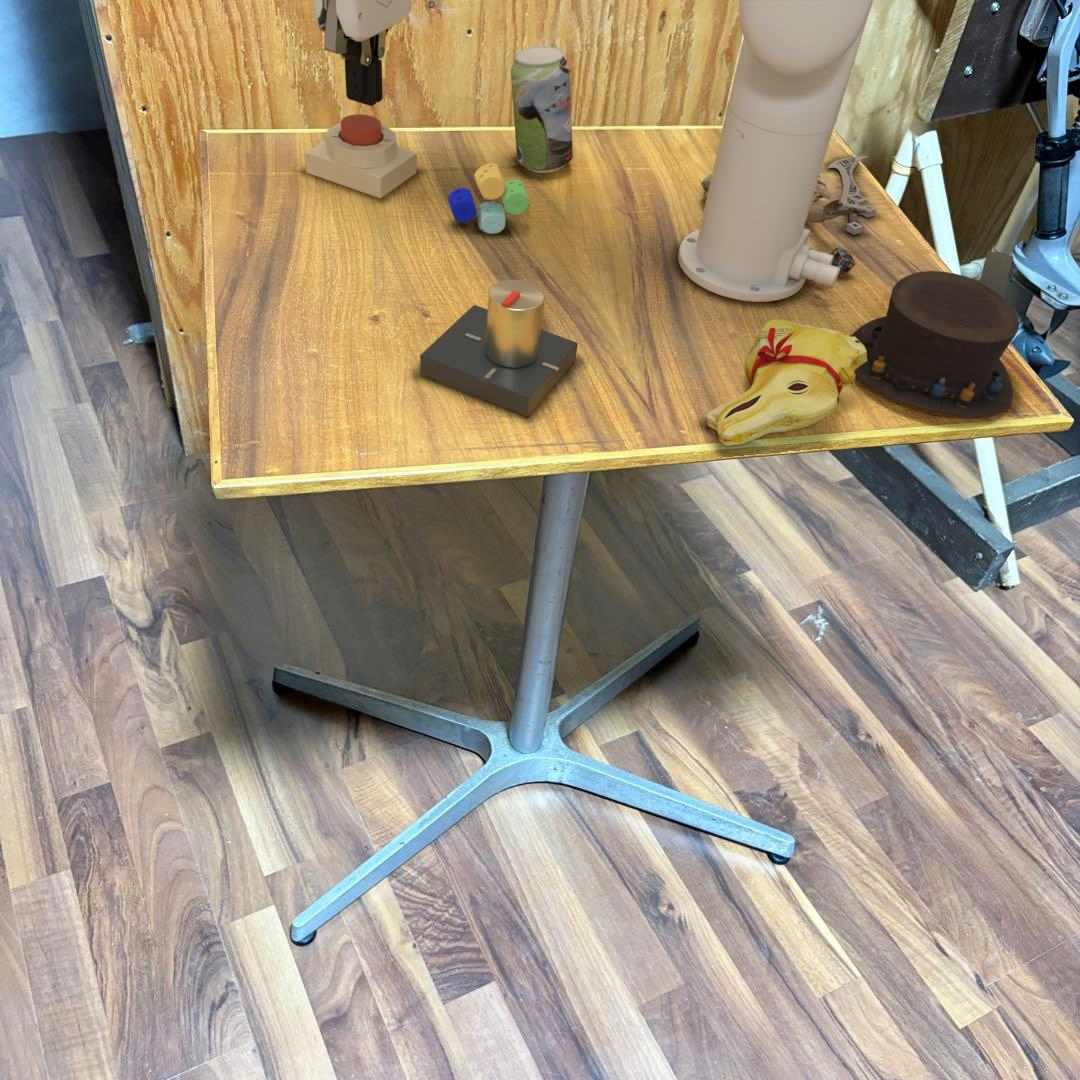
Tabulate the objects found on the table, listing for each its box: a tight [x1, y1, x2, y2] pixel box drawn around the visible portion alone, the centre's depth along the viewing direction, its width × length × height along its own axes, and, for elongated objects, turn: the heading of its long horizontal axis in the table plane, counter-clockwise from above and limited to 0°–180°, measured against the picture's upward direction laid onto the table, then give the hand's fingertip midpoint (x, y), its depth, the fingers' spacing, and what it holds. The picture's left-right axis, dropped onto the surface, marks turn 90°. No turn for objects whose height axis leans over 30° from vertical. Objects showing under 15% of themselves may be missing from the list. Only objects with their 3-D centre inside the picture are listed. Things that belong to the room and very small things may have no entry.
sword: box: [827, 155, 877, 236], centre depth 119 cm, size 20×1×5 cm
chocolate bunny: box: [706, 318, 867, 447], centre depth 86 cm, size 7×11×15 cm
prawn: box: [805, 175, 866, 278], centre depth 111 cm, size 25×12×7 cm, turn 12°
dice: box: [447, 162, 531, 235], centre depth 103 cm, size 8×3×6 cm, turn 100°
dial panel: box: [419, 304, 578, 418], centre depth 89 cm, size 10×9×2 cm
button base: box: [304, 122, 418, 199], centre depth 110 cm, size 9×7×4 cm
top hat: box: [851, 250, 1020, 419], centre depth 91 cm, size 15×15×10 cm
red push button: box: [340, 113, 382, 146], centre depth 108 cm, size 4×4×2 cm
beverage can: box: [510, 45, 574, 174], centre depth 112 cm, size 6×7×12 cm
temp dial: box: [485, 279, 546, 368], centre depth 86 cm, size 4×4×6 cm
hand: (364, 99), depth 106 cm, fingers closed
